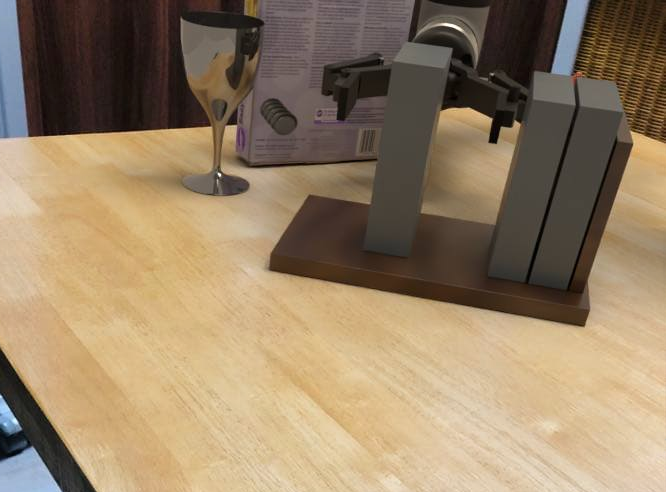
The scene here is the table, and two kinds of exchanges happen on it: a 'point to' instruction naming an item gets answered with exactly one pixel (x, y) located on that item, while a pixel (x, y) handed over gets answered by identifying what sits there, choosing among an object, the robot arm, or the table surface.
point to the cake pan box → (316, 79)
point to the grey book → (406, 147)
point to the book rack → (442, 254)
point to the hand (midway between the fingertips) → (418, 115)
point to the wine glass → (220, 80)
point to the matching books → (554, 178)
